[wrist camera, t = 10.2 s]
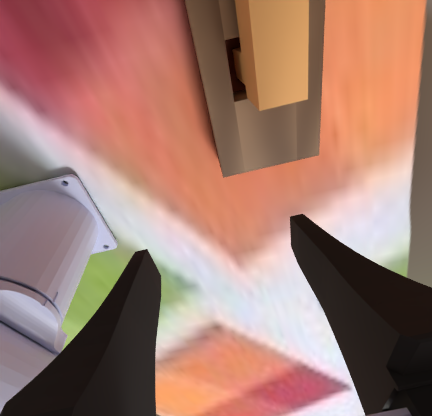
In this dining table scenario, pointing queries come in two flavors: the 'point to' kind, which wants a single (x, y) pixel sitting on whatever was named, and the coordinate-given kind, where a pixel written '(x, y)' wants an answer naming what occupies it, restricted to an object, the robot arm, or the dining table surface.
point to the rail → (242, 107)
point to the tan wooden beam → (273, 51)
